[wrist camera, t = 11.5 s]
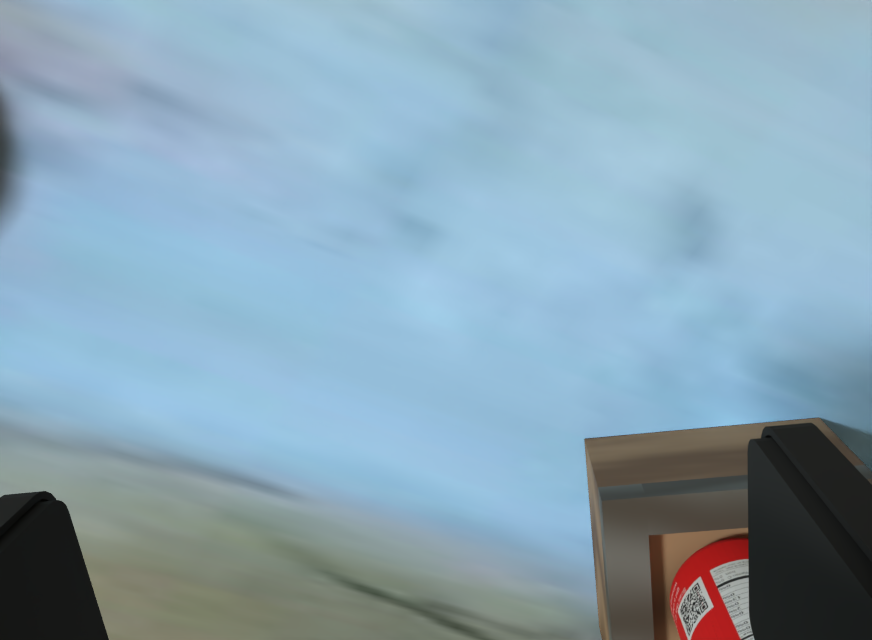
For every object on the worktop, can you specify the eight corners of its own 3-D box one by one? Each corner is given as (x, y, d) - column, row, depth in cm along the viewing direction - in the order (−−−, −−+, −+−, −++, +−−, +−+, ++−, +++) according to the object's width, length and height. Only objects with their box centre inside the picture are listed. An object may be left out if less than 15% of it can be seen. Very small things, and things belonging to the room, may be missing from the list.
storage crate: (584, 438, 41) (601, 500, 35) (819, 417, 39) (878, 478, 34) (599, 626, 44) (617, 711, 38) (815, 611, 43) (867, 697, 37)
